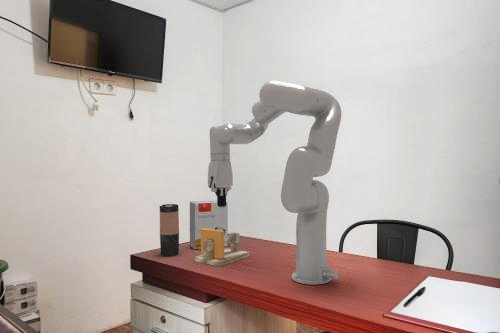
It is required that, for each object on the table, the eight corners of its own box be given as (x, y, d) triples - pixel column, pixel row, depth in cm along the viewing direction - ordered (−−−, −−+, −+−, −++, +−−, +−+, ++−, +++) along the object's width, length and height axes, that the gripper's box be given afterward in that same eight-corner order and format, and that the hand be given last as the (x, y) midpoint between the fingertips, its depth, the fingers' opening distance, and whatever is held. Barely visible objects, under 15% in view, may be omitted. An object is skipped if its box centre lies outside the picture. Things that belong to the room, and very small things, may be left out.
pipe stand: (249, 255, 153) (249, 234, 153) (219, 266, 139) (219, 243, 139) (224, 251, 161) (224, 231, 161) (193, 261, 147) (193, 238, 146)
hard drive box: (193, 250, 164) (193, 203, 163) (189, 246, 171) (188, 201, 170) (228, 246, 170) (227, 201, 169) (222, 243, 177) (222, 199, 176)
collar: (224, 257, 143) (224, 230, 143) (220, 258, 142) (220, 231, 141) (204, 254, 149) (204, 228, 149) (200, 255, 148) (200, 228, 147)
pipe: (238, 240, 156) (238, 233, 156) (209, 248, 142) (209, 241, 142) (233, 239, 157) (233, 233, 157) (204, 247, 144) (204, 240, 144)
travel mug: (182, 254, 156) (181, 205, 156) (164, 257, 152) (163, 206, 152) (174, 251, 163) (174, 203, 162) (157, 253, 158) (156, 205, 158)
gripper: (225, 158, 157) (226, 203, 157) (199, 158, 145) (201, 208, 145) (240, 157, 152) (241, 204, 152) (214, 158, 140) (216, 208, 140)
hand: (221, 206), depth 149 cm, fingers closed
